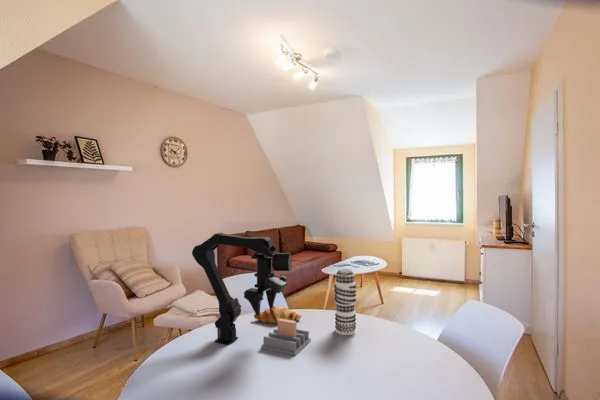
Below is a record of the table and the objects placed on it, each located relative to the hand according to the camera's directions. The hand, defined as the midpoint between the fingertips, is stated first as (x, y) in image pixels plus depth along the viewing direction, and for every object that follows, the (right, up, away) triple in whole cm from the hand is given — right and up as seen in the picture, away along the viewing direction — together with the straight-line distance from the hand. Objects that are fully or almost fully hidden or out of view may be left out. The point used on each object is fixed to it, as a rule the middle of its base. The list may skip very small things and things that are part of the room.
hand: (264, 311), depth 124 cm
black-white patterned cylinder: (+32, -12, +11) cm, 36 cm away
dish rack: (+8, -12, -1) cm, 15 cm away
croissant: (+3, -12, +23) cm, 26 cm away
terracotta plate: (+9, -11, -1) cm, 14 cm away
